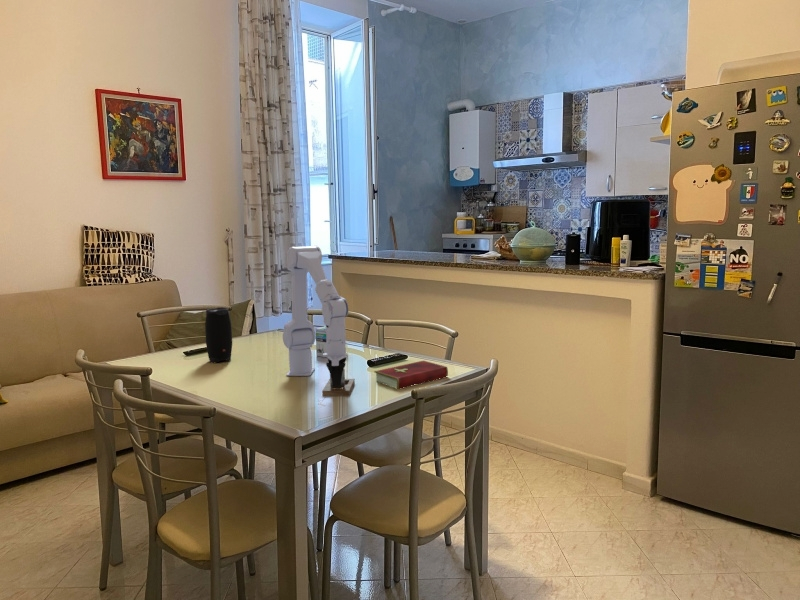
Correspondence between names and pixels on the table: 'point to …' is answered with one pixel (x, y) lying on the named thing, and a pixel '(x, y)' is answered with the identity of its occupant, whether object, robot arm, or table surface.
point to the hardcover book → (411, 374)
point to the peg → (341, 382)
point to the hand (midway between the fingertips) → (337, 383)
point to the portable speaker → (218, 334)
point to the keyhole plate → (339, 392)
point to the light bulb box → (321, 341)
